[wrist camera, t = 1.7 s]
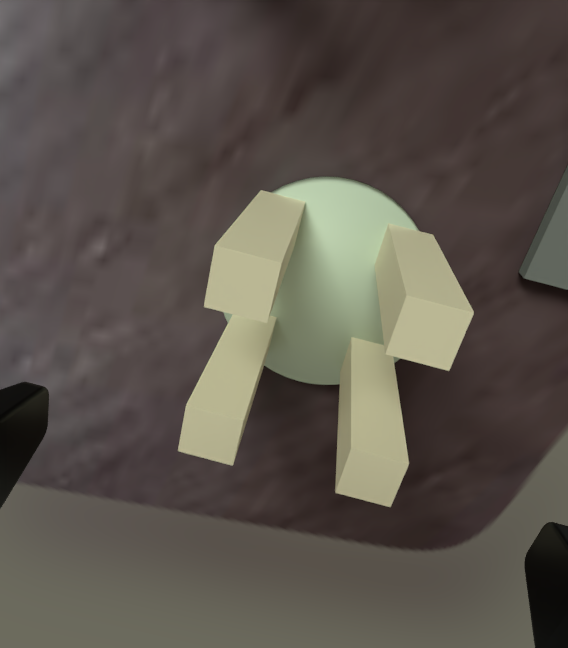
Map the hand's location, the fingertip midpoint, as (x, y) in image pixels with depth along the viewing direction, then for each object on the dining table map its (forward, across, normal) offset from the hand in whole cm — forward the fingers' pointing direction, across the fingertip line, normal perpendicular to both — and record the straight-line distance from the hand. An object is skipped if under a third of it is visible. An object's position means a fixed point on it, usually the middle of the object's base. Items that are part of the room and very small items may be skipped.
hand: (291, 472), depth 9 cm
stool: (+10, 0, 0) cm, 10 cm away
